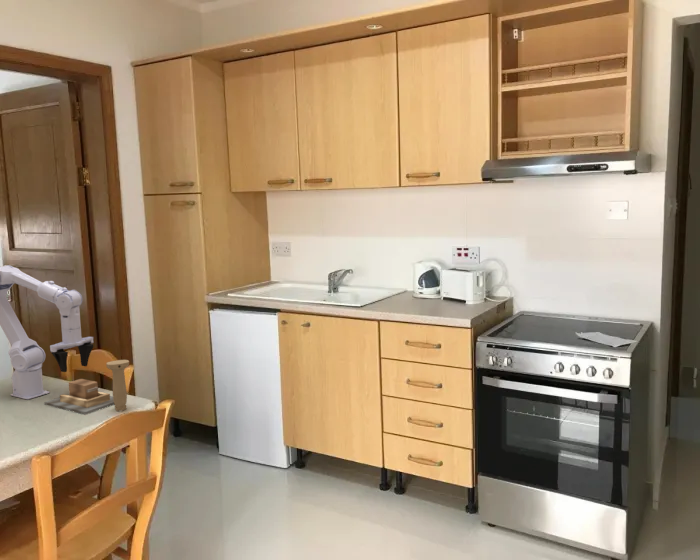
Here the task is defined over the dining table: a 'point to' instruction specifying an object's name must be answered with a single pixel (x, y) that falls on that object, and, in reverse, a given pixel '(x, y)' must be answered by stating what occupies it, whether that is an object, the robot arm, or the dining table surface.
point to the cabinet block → (83, 389)
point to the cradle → (82, 403)
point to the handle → (119, 383)
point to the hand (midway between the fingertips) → (74, 368)
